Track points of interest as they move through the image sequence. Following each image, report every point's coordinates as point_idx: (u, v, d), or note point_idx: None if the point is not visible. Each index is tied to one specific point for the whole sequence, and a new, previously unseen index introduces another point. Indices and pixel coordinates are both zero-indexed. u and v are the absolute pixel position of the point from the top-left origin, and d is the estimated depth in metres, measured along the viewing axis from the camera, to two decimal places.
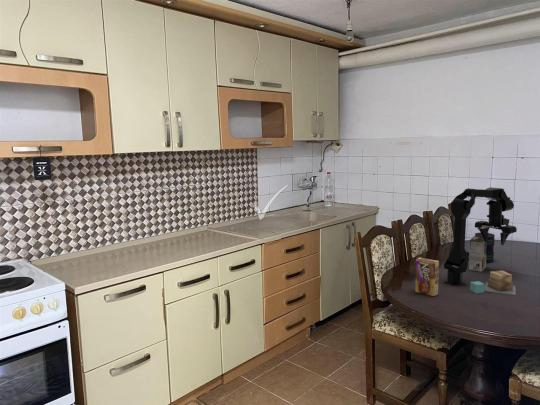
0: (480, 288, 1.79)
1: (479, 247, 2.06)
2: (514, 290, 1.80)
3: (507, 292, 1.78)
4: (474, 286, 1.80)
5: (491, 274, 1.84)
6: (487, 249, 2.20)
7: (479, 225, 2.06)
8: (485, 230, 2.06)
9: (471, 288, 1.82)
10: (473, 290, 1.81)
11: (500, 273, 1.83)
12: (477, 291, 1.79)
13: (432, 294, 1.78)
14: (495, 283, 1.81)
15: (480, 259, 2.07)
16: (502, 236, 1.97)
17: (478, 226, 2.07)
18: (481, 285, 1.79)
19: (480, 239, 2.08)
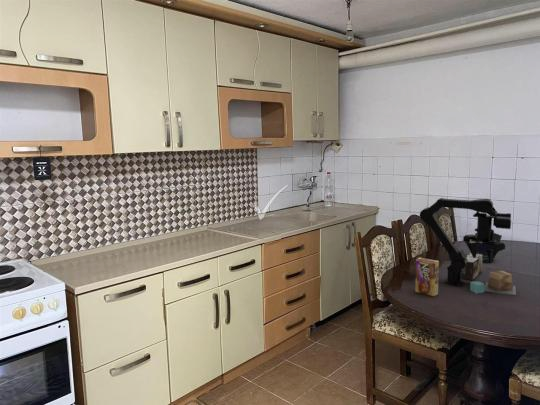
0: (480, 288, 1.79)
1: None
2: (514, 290, 1.80)
3: (507, 292, 1.78)
4: (474, 286, 1.80)
5: (491, 274, 1.84)
6: None
7: (467, 239, 1.89)
8: (473, 245, 1.89)
9: (471, 288, 1.82)
10: (473, 290, 1.81)
11: (500, 273, 1.83)
12: (477, 291, 1.79)
13: (432, 294, 1.78)
14: (495, 283, 1.81)
15: None
16: (489, 253, 1.78)
17: (466, 240, 1.89)
18: (481, 285, 1.79)
19: (469, 274, 1.96)
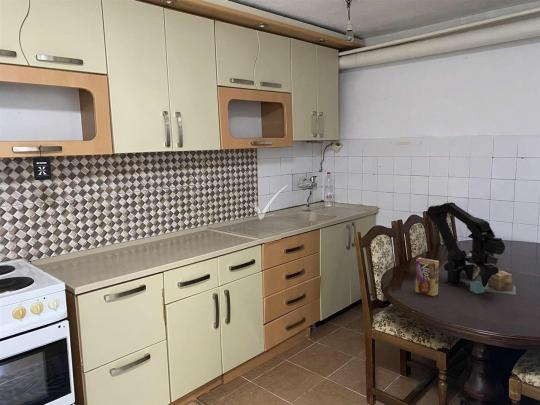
0: (480, 288, 1.79)
1: None
2: (514, 290, 1.80)
3: (507, 292, 1.78)
4: (474, 286, 1.80)
5: None
6: None
7: (463, 260, 1.85)
8: (469, 266, 1.85)
9: (471, 288, 1.82)
10: (473, 290, 1.81)
11: (500, 273, 1.83)
12: (477, 291, 1.79)
13: (432, 294, 1.78)
14: (495, 283, 1.81)
15: None
16: (482, 276, 1.74)
17: (462, 261, 1.86)
18: (481, 285, 1.79)
19: None
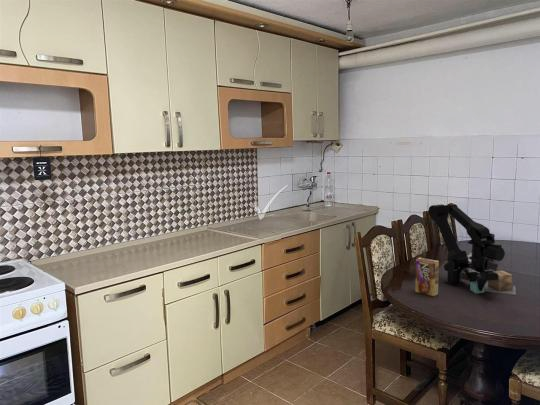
0: None
1: None
2: (514, 290, 1.80)
3: (507, 292, 1.78)
4: (474, 286, 1.80)
5: None
6: None
7: (463, 266, 1.86)
8: (473, 274, 1.83)
9: (471, 288, 1.82)
10: (473, 290, 1.81)
11: (500, 273, 1.83)
12: (477, 291, 1.79)
13: (432, 294, 1.78)
14: (495, 283, 1.81)
15: None
16: (478, 281, 1.77)
17: (462, 267, 1.86)
18: None
19: None
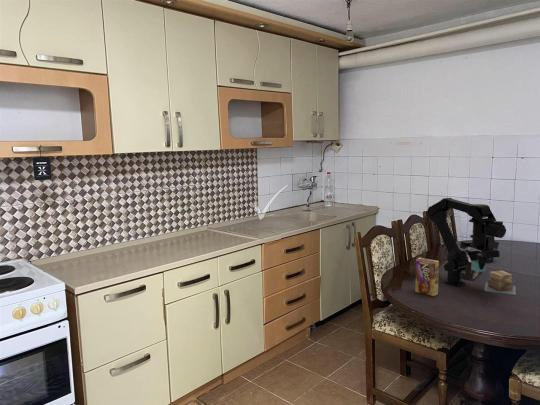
0: None
1: None
2: (514, 290, 1.80)
3: (507, 292, 1.78)
4: (475, 264, 1.79)
5: (491, 274, 1.84)
6: None
7: (463, 245, 1.84)
8: (474, 253, 1.82)
9: (472, 267, 1.81)
10: (474, 269, 1.79)
11: (500, 273, 1.83)
12: (478, 269, 1.78)
13: (432, 294, 1.78)
14: (495, 283, 1.81)
15: None
16: (479, 259, 1.75)
17: (463, 246, 1.85)
18: None
19: (469, 274, 1.96)
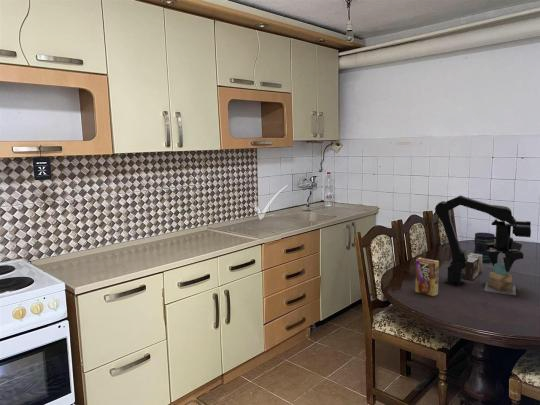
0: (504, 269, 1.80)
1: None
2: (514, 290, 1.80)
3: (507, 292, 1.78)
4: (498, 267, 1.81)
5: (491, 274, 1.84)
6: None
7: (486, 247, 1.86)
8: (494, 253, 1.85)
9: (495, 270, 1.83)
10: (497, 272, 1.82)
11: None
12: (501, 272, 1.80)
13: (432, 294, 1.78)
14: (495, 283, 1.81)
15: None
16: (505, 261, 1.76)
17: (485, 248, 1.87)
18: None
19: (469, 274, 1.96)
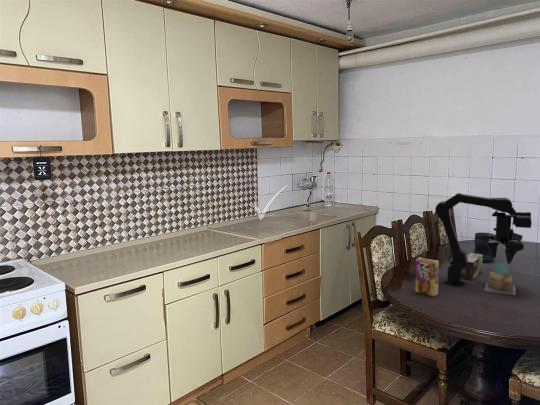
0: (504, 269, 1.80)
1: None
2: (514, 290, 1.80)
3: (507, 292, 1.78)
4: (498, 267, 1.81)
5: (491, 274, 1.84)
6: (487, 249, 2.20)
7: (486, 238, 1.87)
8: (493, 244, 1.86)
9: (495, 270, 1.83)
10: (497, 272, 1.82)
11: None
12: (501, 272, 1.80)
13: (432, 294, 1.78)
14: (495, 283, 1.81)
15: None
16: (507, 253, 1.75)
17: (485, 239, 1.87)
18: (505, 266, 1.80)
19: (469, 274, 1.96)
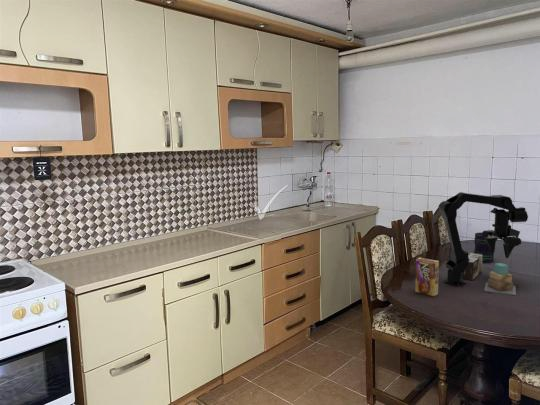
0: (504, 269, 1.80)
1: None
2: (514, 290, 1.80)
3: (507, 292, 1.78)
4: (498, 267, 1.81)
5: (491, 274, 1.84)
6: (487, 249, 2.20)
7: (485, 234, 1.95)
8: (492, 240, 1.94)
9: (495, 270, 1.83)
10: (497, 272, 1.82)
11: None
12: (501, 272, 1.80)
13: (432, 294, 1.78)
14: (495, 283, 1.81)
15: None
16: (505, 248, 1.84)
17: (484, 235, 1.95)
18: (505, 266, 1.80)
19: (469, 274, 1.96)
